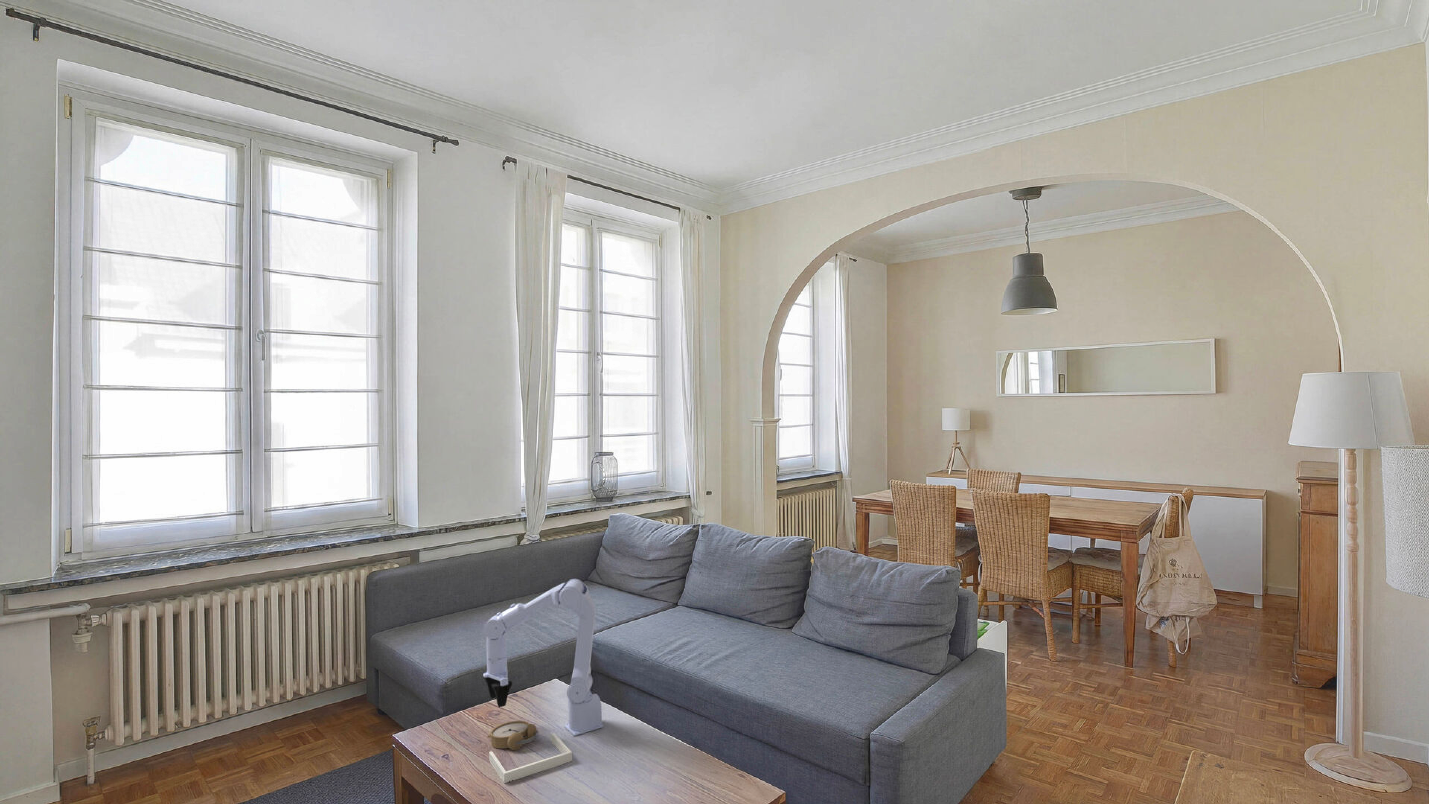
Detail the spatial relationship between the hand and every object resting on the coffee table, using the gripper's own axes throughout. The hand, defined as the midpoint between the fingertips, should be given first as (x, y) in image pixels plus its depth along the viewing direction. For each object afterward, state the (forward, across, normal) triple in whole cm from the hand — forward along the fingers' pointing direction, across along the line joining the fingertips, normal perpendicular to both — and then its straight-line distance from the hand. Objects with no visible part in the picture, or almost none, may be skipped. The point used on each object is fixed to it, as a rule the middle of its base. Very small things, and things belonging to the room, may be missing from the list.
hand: (498, 701), depth 210 cm
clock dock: (+9, +24, +2) cm, 25 cm away
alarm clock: (+9, +10, +2) cm, 13 cm away
